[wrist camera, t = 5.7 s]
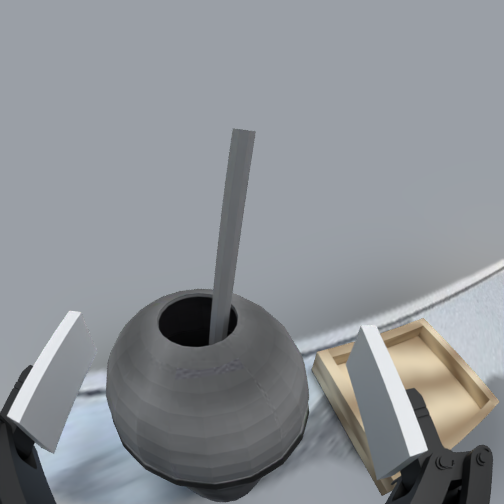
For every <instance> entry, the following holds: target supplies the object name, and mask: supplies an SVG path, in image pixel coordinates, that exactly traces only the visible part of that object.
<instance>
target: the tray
mask: <svg viewBox="0 0 504 504" xmlns="http://www.w3.org/2000/svg"><path fill="white" fill-rule="evenodd" d="M380 335H381V337H382V339H383V341H384V344H385V346H386V348H387V350H388V352H389V354H390V357H391V359H392V361H393V363H394V365H395V368H396V370H397V372H398V374H399V377H400V379H401V381H402V384H403V386H404V388H405V390H406V389H411V388H415V389H416V390H417V391H418V392H419V393H420V394H421V395H422V397H423V399H424V401H425V404H426V408H428V411H429V413H430V416H431V418H432V420H433V423H434V425H435V428H436V430H437V433H438V436H439V438H440V441H441V443H442V445H443V446H444V447H445V448H447V449H449V450H451V449H452V448H453V447H454V446H455V445H456V444H458V443H459V442H460V441H461V440H462V439H463V438H464V437H465V436H466V435H468V434H469V433H470V432H471V431H472V430H473V429H474V428H475V427H476V426H477V425H478V424H479V423H480V422H481V421H482V420H483V419H484V418H485V417H486V416H487V415H488V414H489V413H490V412H491V411H492V409H493V408H494V407H495V406H496V405H497V404H498V403H499V401H498V399H497V398H496V397H495V396H494V394H493V393H492V392H491V391H490V390H489V389H488V387H487V386H486V385H485V384H484V383H483V381H482V380H481V379H480V378H479V377H478V376H477V374H476V373H475V372H474V371H473V370H472V369H471V368H470V367H469V365H468V364H467V363H466V362H465V361H464V360H463V359H462V358H461V357H460V356H459V354H458V353H457V352H456V351H455V350H454V349H453V348H452V347H451V346H450V345H449V344H448V343H447V342H446V341H445V340H444V338H443V337H442V336H441V335H440V334H439V333H438V332H437V331H436V330H435V329H434V328H433V327H432V326H431V325H430V324H429V323H428V322H427V321H426V320H425V319H424V318H422V319H419V320H417V321H414V322H412V323H409V324H406V325H403V326H401V327H398V328H395V329H392V330H389V331H386V332H383V333H380ZM354 343H355V342H352V343H348V344H345V345H341V346H338V347H334V348H330V349H326V350H323V351H319V352H317V354H316V357H315V360H314V364H313V367H312V371H313V373H314V375H315V376H316V378H317V380H318V382H319V384H320V385H321V387H322V389H323V391H324V393H325V395H326V396H327V398H328V400H329V402H330V404H331V405H332V407H333V409H334V411H335V413H336V414H337V416H338V418H339V420H340V422H341V423H342V425H343V427H344V429H345V431H346V432H347V434H348V436H349V438H350V440H351V441H352V443H353V445H354V447H355V449H356V450H357V452H358V454H359V456H360V458H361V459H362V461H363V463H364V465H365V467H366V468H367V470H368V472H369V474H370V476H371V477H372V479H373V481H374V483H375V485H376V486H377V488H378V490H379V492H380V493H381V495H382V496H383V495H385V494H387V493H388V492H390V491H392V490H393V489H394V487H395V485H396V483H395V484H393V485H391V483H392V482H393V480H395V479H397V478H398V477H400V476H401V473H400V471H399V472H398V473H396V474H395V475H393V476H390V477H387V478H383V479H380V480H377V478H376V474H375V470H374V465H373V461H372V457H371V453H370V449H369V445H368V441H367V437H366V433H365V430H364V426H363V422H362V418H361V415H360V411H359V408H358V404H357V401H356V397H355V394H354V390H353V387H352V384H351V380H350V377H349V374H348V370H347V367H346V362H347V360H348V358H349V355H350V353H351V350H352V348H353V345H354Z"/></svg>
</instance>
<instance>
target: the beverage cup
mask: <svg viewBox="0 0 504 504" xmlns="http://www.w3.org/2000/svg"><path fill="white" fill-rule="evenodd" d="M254 139H255V131H248V130H240V129H233V132H232V138H231V146H230V152H229V159H228V167H227V174H226V181H225V189H224V198H223V206H222V214H221V223H220V232H219V241H218V249H217V259H216V268H215V279H214V289H213V290H211V289H194V290H186V291H179V292H176V293H173V294H170V295H166V296H163V297H161V298H159V299H158V300H156V301H154V302H152V303H151V304H149V305H147V306H146V307H144V308H143V309H141V310H140V311H139V312H138V313H137V314H136V315H135V316H134V317H133V318H132V319H131V320H130V321H129V322H128V323H127V324H126V325H125V327H124V328H123V330H122V331H121V332H120V334H119V337H118V338H117V340H116V343H115V345H114V347H113V349H112V351H111V353H110V356H109V360H108V366H107V383H106V397H107V401H108V405H109V408H110V411H111V414H112V419H113V422H114V425H115V427H116V430H117V432H118V434H119V437H120V439H121V442H122V444H123V446H124V447H125V448H126V449H127V451H128V452H129V453H130V454H131V455H132V456H133V457H134V458H135V459H136V460H137V461H138V462H139V463H140V464H141V465H142V466H143V467H144V468H145V469H146V470H148V471H150V472H152V473H154V474H155V475H157V476H159V477H161V478H163V479H166V480H168V481H170V482H172V483H174V484H176V485H179V486H186V487H187V488H189V489H190V490H192V491H193V492H195V493H197V494H198V495H200V496H202V497H204V498H207V499H210V500H212V501H216V502H230V501H235V500H237V499H239V498H241V497H243V496H245V495H246V494H248V493H249V492H250V491H251V490H252V488H253V487H254V486H255V485H256V484H257V483H258V481H259V480H260V479H261V478H262V477H263V476H265V475H266V474H268V473H270V472H271V471H273V470H274V469H276V468H278V467H279V466H281V465H282V464H284V462H285V461H286V460H287V459H288V457H289V456H290V455H291V453H292V452H293V451H294V449H295V448H296V447H297V445H298V444H299V443H300V441H301V440H302V438H303V434H304V431H305V427H306V423H307V419H308V415H309V406H308V400H309V389H308V382H307V376H306V370H305V364H304V361H303V358H302V355H301V353H300V351H299V350H298V348H297V346H296V345H295V343H294V341H293V340H292V338H291V336H290V335H289V333H288V332H287V330H286V329H285V327H284V326H283V325H282V324H281V323H280V322H279V321H278V320H276V319H275V318H274V317H273V316H272V315H271V314H269V313H268V312H267V311H266V310H265V309H264V308H262V307H261V306H259V305H257V304H255V303H253V302H251V301H249V300H247V299H245V298H243V297H241V296H239V295H237V294H233V285H234V277H235V270H236V263H237V256H238V248H239V241H240V234H241V227H242V220H243V213H244V206H245V199H246V192H247V185H248V179H249V172H250V165H251V158H252V152H253V145H254Z"/></svg>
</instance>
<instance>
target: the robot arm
mask: <svg viewBox="0 0 504 504" xmlns="http://www.w3.org/2000/svg"><path fill="white" fill-rule="evenodd" d="M96 353H97V349H96V347H95V345H94V342H93V340H92V338H91V335H90V333H89V331H88V328H87V326H86V323H85V322H84V319H83V316H82V313H81V312H76V311H69V312H68V313H67V315H66V316H65V318H64V319H63V321H62V322H61V324H60V325H59V326H58V328H57V329H56V331H55V332H54V334H53V335H52V337H51V339H50V340H49V342H48V343H47V345H46V346H45V348H44V350H43V351H42V353H41V354H40V356H39V358H38V359H37V361H36V363H35V364H34V366H32V365H29V366H28V367H27V368H26V369H25V370H24V371H23V372H22V373H21V375H20V377H19V379H18V382H16V384H15V386H14V388H13V389H12V391H11V393H10V395H9V397H8V399H7V401H6V403H5V405H4V407H3V409H2V411H1V412H0V504H56V502H55V500H54V497H53V495H52V493H51V490H50V488H49V485H48V483H47V480H46V477H45V475H44V472H43V469H42V466H41V463H40V460H39V457H38V454H37V450H36V448H35V446H34V443H37V444H38V445H39V446H40V447H41V448H43V449H45V450H47V451H49V452H51V453H53V454H54V453H55V450H56V447H57V444H58V441H59V439H60V436H61V433H62V431H63V428H64V426H65V423H66V420H67V418H68V415H69V413H70V411H71V408H72V406H73V403H74V401H75V399H76V396H77V394H78V392H79V390H80V387H81V385H82V383H83V381H84V378H85V376H86V374H87V372H88V370H89V368H90V366H91V364H92V361H93V359H94V357H95V355H96ZM346 367H347V370H348V374H349V377H350V380H351V384H352V387H353V390H354V394H355V397H356V401H357V404H358V408H359V411H360V415H361V418H362V422H363V426H364V430H365V433H366V437H367V441H368V445H369V449H370V453H371V457H372V461H373V465H374V470H375V474H376V478H377V480H380V479H383V478H387V477H390V476H393V475H395V474H396V473H398V472H399V471H400V473H401V476H400V477H398V478H397V479H395V480H393V482H392V483H391V485H393V484H395V483H396V485H395V487H394V489H393V491H392V493H391V495H390V496H389V498H388V500H387V502H386V503H385V504H489V502H490V494H491V483H492V464H493V456H492V452H491V450H490V449H489V448H488V447H487V446H485V445H479V446H477V447H476V448H475V449H474V450H472V451H468V452H457V453H456V452H452V451H451V450H449V449H447V448H445V447H444V446H443V445H442V443H441V441H440V438H439V436H438V433H437V430H436V428H435V425H434V423H433V420H432V418H431V416H430V413H429V411H428V408H426V404H425V401H424V399H423V397H422V395H421V394H420V393H419V392H418V391H417V390H416V389H415V388H411V389H406V390H405V388H404V386H403V384H402V381H401V379H400V377H399V374H398V372H397V370H396V368H395V365H394V363H393V361H392V359H391V357H390V354H389V352H388V350H387V348H386V346H385V344H384V341H383V339H382V337H381V335H380V333H379V331H378V329H377V327H376V325H366V326H361V327H360V330H359V332H358V335H357V338H356V340H355V343H354V345H353V348H352V350H351V353H350V355H349V358H348V360H347V362H346Z"/></svg>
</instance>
